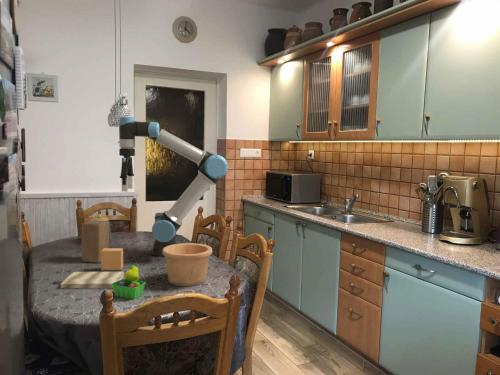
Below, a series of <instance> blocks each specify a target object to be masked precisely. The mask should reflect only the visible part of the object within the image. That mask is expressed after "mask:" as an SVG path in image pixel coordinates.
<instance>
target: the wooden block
mask: <svg viewBox="0 0 500 375" xmlns="http://www.w3.org/2000/svg"><path fill="white" fill-rule="evenodd" d="M108 221H109V220H108ZM108 221H98V220H92V221H84V222H83V223H82V224H81V260H82V262H84V263H95V264H101V251H102V250H103V249H104V248H110V243H109V222H110V221H109V222H108Z"/></svg>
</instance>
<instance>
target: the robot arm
mask: <svg viewBox="0 0 500 375" xmlns="http://www.w3.org/2000/svg"><path fill="white" fill-rule="evenodd" d="M118 129H119V130H118V137H119V141H117V143H118V146H119V150H118V153H119V154H118V155H119V156H121V157H122V158H121V170H120V176H119V179H121V192H126V193H127V192H128V191H129V190H132V189H133V187H134V186H133V182H134V181H133V180H134V179H133V177H134V176H135V173H134V168H133V167H134V166H133V158H132V157H135V156H136V150H135V148H136V139H135V138H136V137H137V138H138V137H142V138H143V137H144V138H149V139H150V140H152V141H154V142H156V143H158V144H160V145H162V146H164V147H166V148H167V149H170V150H171V151H173V152H175V153H176V154H177V155H181V156H182V157H184V158H185V159H188V160H190V161H192V162H193V163H195V164H196V165H197V167H199V168H198V171H197V173H198V174H197V175H196V177H195V178H194V179H193V181H192V182H191V183H190V184H189V185H188V187H187V188H186V189H185V190H184V191H183V193H182V194H181V195H180V197H179V198H178V199H177V200H176V201H175V203H174V204H173V205H172V206H171V207H170V209H168V210H164V211H163V212H156V213H155V214H154V223H153V224H152V227H151V233H152V234H151V235H152V237H153V238H154V241H153V245H152V247H151V255H153V256H155V257H163V258H164V257H165V256H164V255H163V254H162V251H163V248H165V247H167V246H170V245H173V244H178V241H177V232H178V231H179V230H180V228H181V227H182V226H183V220H184V219H185V217H187V215H188V214H190V212H191V210H192V209H193V208H194V207H195V206H196V205H197V203H198V202H199V200H201V199H202V197H203V196H204V195H205V193H206V192H207V191H208V190H209V189H210V187H211V186H215V185H216V184H217V183H218V182H219V181H220V179H222V178H223V177H224V176H226V174H227V172H228V168H229V164H228V162H227V159H226V158H225V157H223V156H222V155H219V154H214V153H212V152H210V151H207V150H203V149H200V148H198V147H196V146H194V145H192V144H191V143H189V142H187V141H185V140H183V139H181V138H179V137H178V136H176V135H174V134H172V133H170V132H168V131H167V130H165V129H163V128H161V127H160V124H159V122H156V121H136V119H135V117H134V116H133V117H132V116H121V117H120V118H119V124H118ZM128 189H129V190H128Z"/></svg>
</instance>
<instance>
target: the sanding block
mask: <svg viewBox="0 0 500 375" xmlns="http://www.w3.org/2000/svg"><path fill="white" fill-rule="evenodd" d="M100 269H101V271H100V272H123V269H124V248H123V247H121V248H120V247H119V248H118V247H113V248H110V247H109V248H104V249H103V250H102V251H101V262H100Z"/></svg>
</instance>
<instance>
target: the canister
mask: <svg viewBox="0 0 500 375" xmlns="http://www.w3.org/2000/svg"><path fill="white" fill-rule="evenodd" d="M92 220H98V221H108V222H109V244H110V243H111V240H112V237H111V224H112V223H111V222H110V221H109V220H110V219H109V218H108V217H107V216H102V214H101V213H98V214H97V215H96V216H93V217H92V218H90V219H89V221H92ZM89 221H88V222H89Z"/></svg>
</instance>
